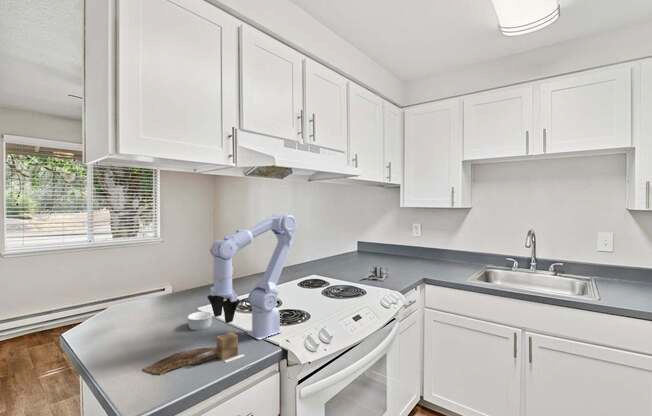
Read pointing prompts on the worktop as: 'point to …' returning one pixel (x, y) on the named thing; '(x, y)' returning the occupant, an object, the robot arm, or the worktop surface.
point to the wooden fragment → (179, 361)
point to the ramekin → (200, 320)
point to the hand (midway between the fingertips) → (223, 319)
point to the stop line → (234, 358)
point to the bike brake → (376, 273)
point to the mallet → (223, 347)
